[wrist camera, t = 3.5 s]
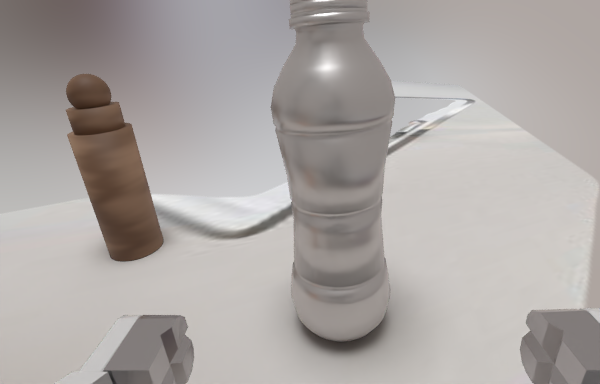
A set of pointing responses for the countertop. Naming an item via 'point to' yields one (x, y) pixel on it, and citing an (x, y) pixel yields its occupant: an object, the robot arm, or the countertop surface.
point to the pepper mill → (112, 170)
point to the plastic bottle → (335, 167)
